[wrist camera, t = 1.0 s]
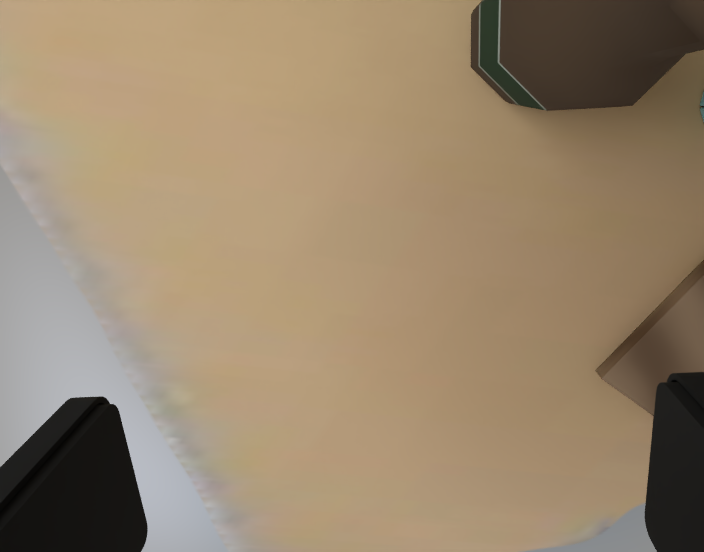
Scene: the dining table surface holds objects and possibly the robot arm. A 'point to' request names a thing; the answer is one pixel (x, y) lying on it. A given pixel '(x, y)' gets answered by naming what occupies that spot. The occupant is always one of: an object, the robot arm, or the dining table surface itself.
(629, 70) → the beer bottle
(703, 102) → the cap
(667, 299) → the post board
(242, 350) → the dining table surface
